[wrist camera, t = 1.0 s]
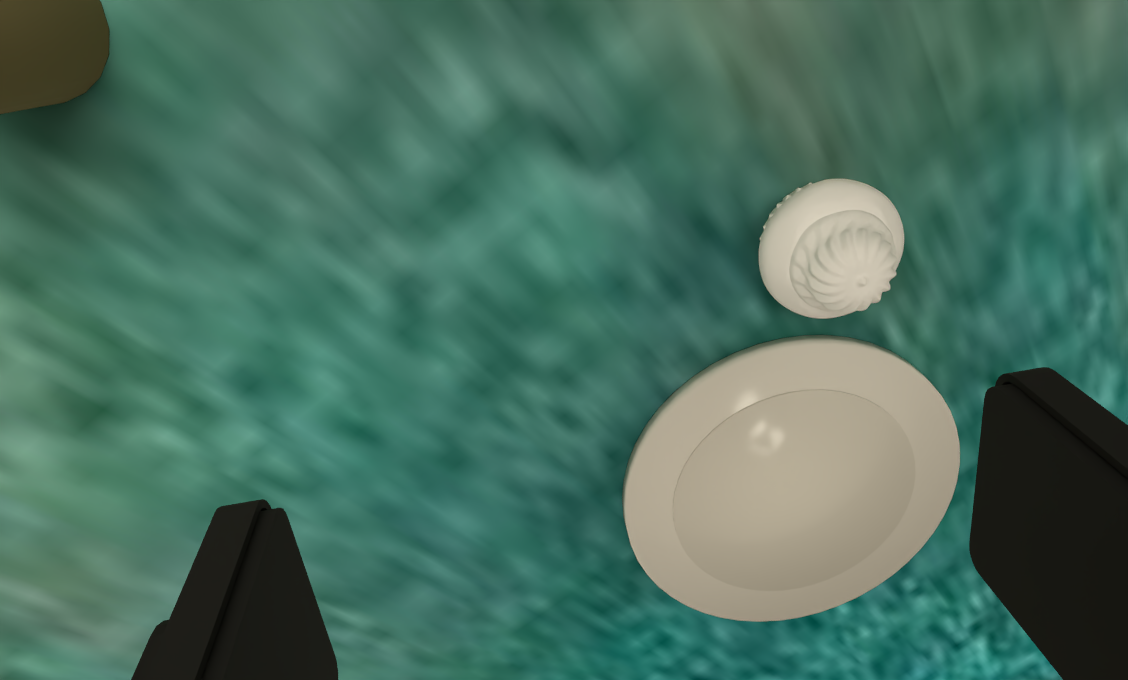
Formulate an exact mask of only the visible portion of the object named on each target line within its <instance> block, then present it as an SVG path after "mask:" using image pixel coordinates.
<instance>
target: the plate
mask: <svg viewBox="0 0 1128 680" xmlns="http://www.w3.org/2000/svg"><path fill="white" fill-rule="evenodd" d="M959 465H960V444H959V439H958V433H957V428H956V425H955V422H954V419H953V417H952V414H951V411H950V409H949V408H948V406H947V404H946V403H945V401H944V399H943V397H942V396H941V395H940V393H939V392H938V391H937V390H936V389H935V388H934V386H933V385H932V384H931V383H930V382H929V381H928V380H927V379H926V378H925V376H924V375H923V374H922V373H921V372H920V371H918V370H917V369H916V368H915V367H914V366H912V365H911V364H910V363H909V362H908V361H906V360H905V359H903V358H902V357H900V356H898V355H896V354H895V353H893V352H891V351H890V350H887V349H885V348H882V347H880V346H878V345H875V344H873V343H870V342H866V341H862V340H858V339H854V338H850V337H841V336H832V335H803V336H796V337H788V338H781V339H777V340H773V341H769V342H765V343H761V344H757V345H754V346H752V347H749V348H746V349H744V350H741V351H738V352H735V353H733V354H731V355H729V356H727V357H725V358H723V359H721V360H719V361H717V362H715V363H713V364H712V365H710V366H709V367H707V368H706V369H704V370H702V371H701V372H699V373H698V374H696V375H695V376H693V377H692V378H691V379H689V380H688V381H687V382H686V383H685V384H683V385H682V386H681V387H680V388H678V389H677V390H676V391H675V392H674V393H673V394H672V395H671V396H670V397H669V398H668V399H667V400H666V401H665V402H664V403H663V404H662V405H661V406H660V407H659V409H658V410H657V411H656V413H655V414H654V415H653V416H652V418H651V419H650V420H649V422H648V423H647V424H646V426H645V428H644V429H643V431H642V433H641V435H640V436H639V438H638V440H637V442H636V443H635V446H634V448H633V451H632V453H631V456H630V458H629V461H628V464H627V468H626V472H625V477H624V482H623V493H622V504H623V516H624V520H625V524H626V528H627V532H628V536H629V540H630V544H631V546H632V549H633V551H634V553H635V555H636V558H637V560H638V561H639V563H640V564H641V566H642V568H643V569H644V571H645V572H646V574H647V575H648V576H649V577H650V578H651V579H652V580H653V581H654V582H655V583H656V585H657V586H658V587H660V588H661V589H662V590H663V591H665V592H666V593H667V594H668V595H670V596H671V597H673V598H674V599H676V600H678V601H679V602H681V603H683V604H685V605H686V606H688V607H691V608H693V609H696V610H698V611H700V612H703V613H706V614H710V615H713V616H717V617H721V618H727V619H733V620H739V621H779V620H786V619H792V618H799V617H803V616H807V615H811V614H815V613H819V612H822V611H825V610H828V609H831V608H834V607H836V606H839V605H841V604H844V603H846V602H848V601H850V600H852V599H855V598H857V597H859V596H860V595H862V594H864V593H866V592H868V591H869V590H871V589H873V588H875V587H876V586H878V585H879V584H880V583H882V582H883V581H885V580H886V579H888V578H889V577H891V576H892V575H893V574H894V573H896V572H897V571H898V570H899V569H900V568H901V567H903V566H904V565H905V564H906V563H907V562H908V561H909V560H910V559H911V558H912V557H913V556H914V555H915V554H916V553H917V552H918V551H919V550H920V549H921V548H922V547H923V545H924V544H925V543H926V542H927V540H928V539H929V538H930V536H931V535H932V534H933V533H934V531H935V529H936V528H937V526H938V525H939V523H940V521H941V520H942V518H943V516H944V514H945V512H946V510H947V508H948V506H949V503H950V501H951V499H952V496H953V493H954V489H955V486H956V483H957V478H958V472H959Z"/></svg>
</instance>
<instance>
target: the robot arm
mask: <svg viewBox="0 0 1128 680" xmlns="http://www.w3.org/2000/svg"><path fill="white" fill-rule="evenodd" d="M969 547H970V555H971V558H972V562H973V564H974V566H975V568H976V570H977V572H978V573H979V574H980V576H981V577H982V578H983V580H984V581H985V582H986V583H987V585H988V586H989V587H990V588H991V590H992V591H993V592H994V593H995V595H996V596H997V597H998V598H999V600H1000V601H1001V602H1002V603H1003V605H1004V606H1005V607H1006V608H1007V610H1008V611H1009V612H1010V613H1011V615H1012V616H1013V617H1014V618H1015V620H1016V621H1017V622H1018V623H1019V625H1020V626H1021V627H1022V628H1023V630H1024V631H1025V632H1026V633H1027V635H1028V636H1029V637H1030V638H1031V640H1032V641H1033V642H1034V643H1035V645H1036V646H1037V647H1038V649H1039V650H1040V651H1041V652H1042V654H1043V655H1044V656H1045V657H1046V659H1047V660H1048V661H1049V662H1050V664H1051V665H1052V666H1053V667H1054V669H1055V670H1056V671H1057V672H1058V674H1059V675H1060V676H1061V677H1062V679H1063V680H1128V425H1126V424H1125V423H1124V422H1122V421H1121V420H1120V419H1118V418H1117V417H1116V416H1114V415H1113V414H1112V413H1110V412H1109V411H1108V410H1106V409H1105V408H1104V407H1102V406H1101V405H1100V404H1098V403H1097V402H1096V401H1094V400H1093V399H1092V398H1090V397H1089V396H1088V395H1086V394H1085V393H1084V392H1082V391H1081V390H1080V389H1078V388H1077V387H1076V386H1074V385H1073V384H1072V383H1070V382H1069V381H1068V380H1066V379H1065V378H1064V377H1062V376H1061V375H1060V374H1058V373H1057V372H1056V371H1054V370H1052V369H1050V368H1046V367H1042V368H1036V369H1030V370H1024V371H1018V372H1013V373H1007V374H1003V375H1001V376H1000V377H999V378H998V380H997V381H996V384H995V387H991V388H989V389H988V390H987V392H986V394H985V398H984V407H983V417H982V426H981V436H980V446H979V455H978V465H977V475H976V485H975V494H974V504H973V514H972V524H971V533H970V543H969ZM131 680H338V668H337V662H336V658H335V654H334V651H333V648H332V645H331V642H330V640H329V637H328V634H327V631H326V628H325V625H324V622H323V619H322V616H321V613H320V610H319V607H318V604H317V601H316V599H315V596H314V593H313V590H312V587H311V584H310V581H309V578H308V575H307V572H306V569H305V566H304V563H303V561H302V558H301V555H300V552H299V549H298V546H297V543H296V540H295V537H294V534H293V531H292V528H291V525H290V522H289V520H288V517H287V514H286V512H285V511H284V509H282V508H276V509H271V507H270V505H269V503H268V502H267V501H266V500H263V499H262V500H256V501H250V502H244V503H238V504H232V505H226V506H221V507H219V508H218V509H217V510H216V512H215V513H214V516H213V518H212V520H211V523H210V525H209V527H208V530H207V532H206V534H205V537H204V539H203V541H202V544H201V546H200V549H199V551H198V553H197V556H196V558H195V560H194V563H193V565H192V567H191V570H190V572H189V574H188V577H187V579H186V581H185V584H184V586H183V588H182V591H181V593H180V596H179V598H178V600H177V603H176V605H175V607H174V610H173V612H172V614H171V617H170V619H169V620H165V621H163V622H161V623H160V624H159V625H157V626H156V628H155V630H154V631H153V633H152V634H151V636H150V638H149V641H148V643H147V645H146V647H145V650H144V652H143V654H142V656H141V659H140V661H139V663H138V665H137V668H136V670H135V672H134V675H133V677H132V679H131Z"/></svg>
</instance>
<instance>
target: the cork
mask: <svg viewBox="0 0 1128 680" xmlns="http://www.w3.org/2000/svg"><path fill="white" fill-rule="evenodd" d="M108 56H109V27H108V24H107V21H106V17H105V14H104V11H103V8H102V4H101V2H100V0H0V114H4V113H9V112H15V111H20V110H26V109H31V108H37V107H42V106H48V105H53V104H59V103H65V102H67V101H69V100H71V99H73V98H75V97H77V96H79V95H82V94H84V93H86V92H87V90H88V89H89V88H90V87H91V86H92V85H93V84H94V83H95V82H96V81H97V80H98V79H99V78H100V77H101V74H102V72H103V69H104V66H105V64H106V61H107V58H108Z"/></svg>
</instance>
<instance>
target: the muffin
mask: <svg viewBox="0 0 1128 680" xmlns="http://www.w3.org/2000/svg"><path fill="white" fill-rule="evenodd" d="M763 229H764V231H763V233H762V235H761V236H760V245H759V268H760V273H761V277H762V280H763V282H764V284H765V286H766V288H767V290H768V291H769V293H770V294H771V295H772V296H773V298H774V299H775V300H777V301H778V302H779V303H780V304H781V305H783V306H784V307H786V308H787V309H789V310H791V311H793V312H795V313H797V314H800V315H803V316H806V317H811V318H821V319H823V318H834V317H839V316H843V315H846V314H849V313H852V312H854V311H856V310H857V311H863V310H865V309H867V308H868V307H869V305H870V304H871V303H877V302H879V301H880V299H881V295H882V292H885V291H888V290H890V284H889V281H890V279H892V278H893V277H895V276H896V272H895V271H896V269H897V267H898V264H899V262H900V259H901V256H902V253H903V248H904V230H903V225H902V221H901V218H900V216H899V214H898V211H897V210H896V208H895V206H894V205H893V203H892V202H891V201H890V200H889V199H888V198H887V197H886V196H885V195H884V194H883V193H882V192H880V191H879V190H877V189H875V188H873V187H872V186H870V185H867V184H865V183H862V182H859V181H855V180H849V179H825V180H823V181H819V182H816V183H814V184H813V183H809V184H807V185H805V186H804V187H802V188H797V189H796V190H794V191H793V192H792V193H790V194H789V195H787V196H785V197H784V198H783V201H782V202H780V203H778V204H777V206H776V208H774V209H773V210H772V212H771V213H770V215H769V218H768V220H767V221H766V223H765V224H764V226H763Z"/></svg>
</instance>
